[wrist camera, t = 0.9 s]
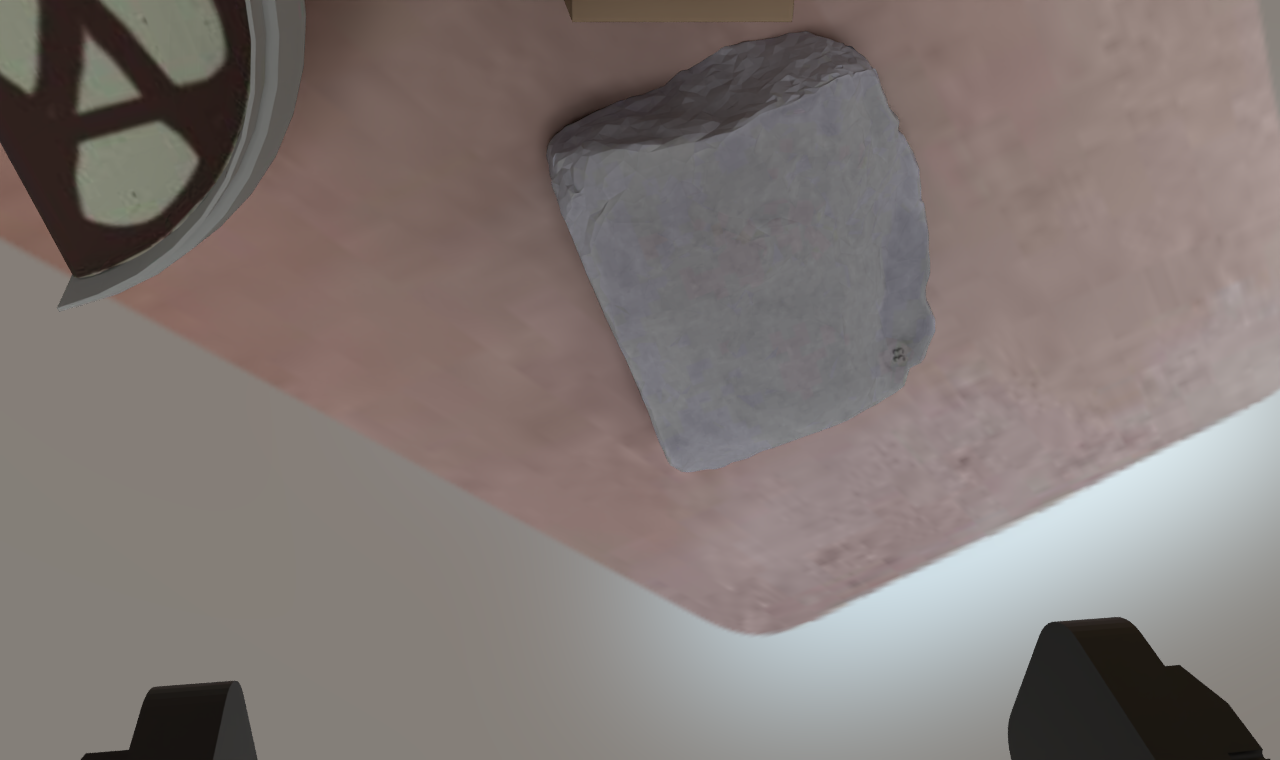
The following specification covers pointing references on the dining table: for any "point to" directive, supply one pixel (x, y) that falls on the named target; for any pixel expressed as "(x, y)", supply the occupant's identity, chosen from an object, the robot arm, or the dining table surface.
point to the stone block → (753, 244)
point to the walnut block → (680, 10)
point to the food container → (143, 122)
